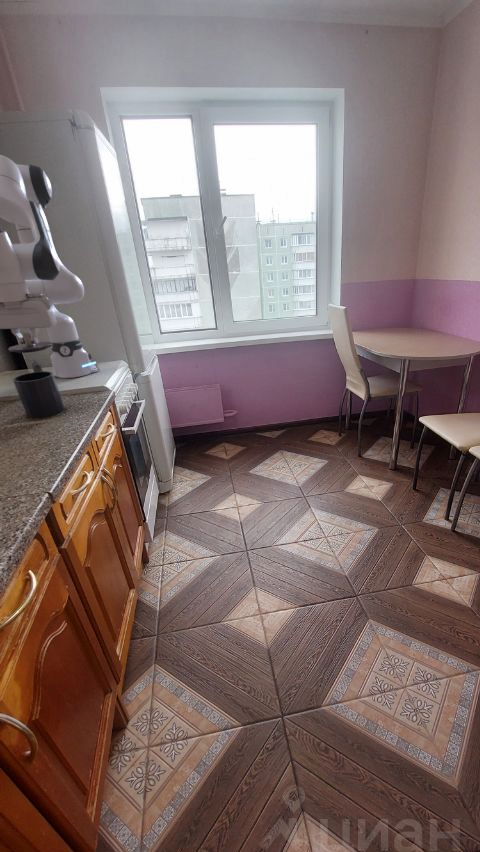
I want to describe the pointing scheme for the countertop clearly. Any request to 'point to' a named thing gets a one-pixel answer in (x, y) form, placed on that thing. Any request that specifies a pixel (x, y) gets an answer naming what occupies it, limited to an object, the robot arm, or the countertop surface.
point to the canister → (39, 394)
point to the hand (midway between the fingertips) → (29, 343)
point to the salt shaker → (36, 366)
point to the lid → (29, 345)
